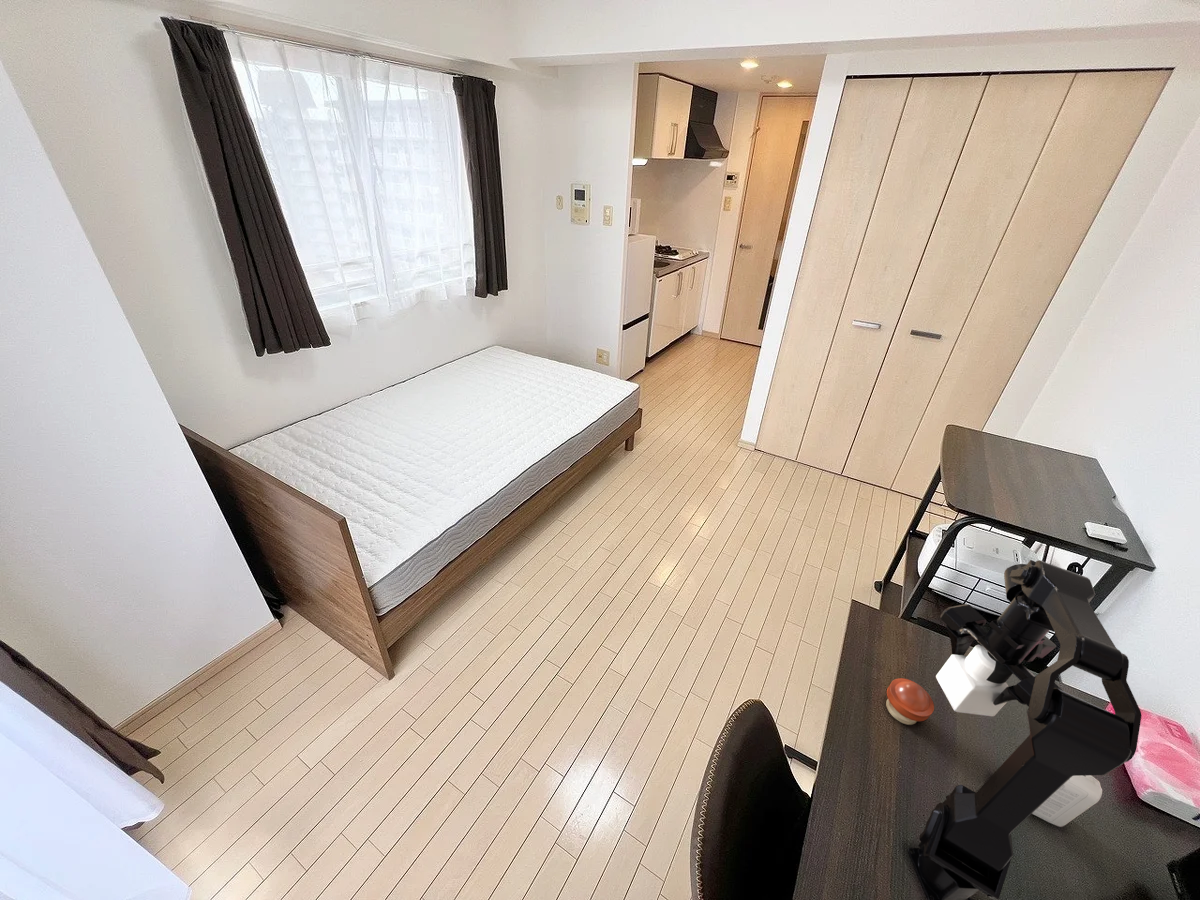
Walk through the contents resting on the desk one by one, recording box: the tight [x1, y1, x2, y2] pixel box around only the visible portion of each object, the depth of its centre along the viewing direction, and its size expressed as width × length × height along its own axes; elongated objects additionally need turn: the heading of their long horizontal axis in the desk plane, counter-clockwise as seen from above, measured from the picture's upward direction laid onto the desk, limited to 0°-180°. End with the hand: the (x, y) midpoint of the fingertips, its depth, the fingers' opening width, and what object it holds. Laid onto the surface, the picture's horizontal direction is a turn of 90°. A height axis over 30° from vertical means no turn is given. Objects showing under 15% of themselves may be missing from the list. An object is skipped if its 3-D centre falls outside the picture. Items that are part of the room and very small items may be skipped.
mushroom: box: [885, 677, 935, 726], centre depth 93 cm, size 8×8×7 cm
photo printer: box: [1031, 775, 1103, 828], centre depth 79 cm, size 10×4×12 cm, turn 60°
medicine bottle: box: [935, 643, 1014, 717], centre depth 86 cm, size 7×7×12 cm
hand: (975, 681), depth 87 cm, fingers closed on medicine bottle, 8 cm apart
